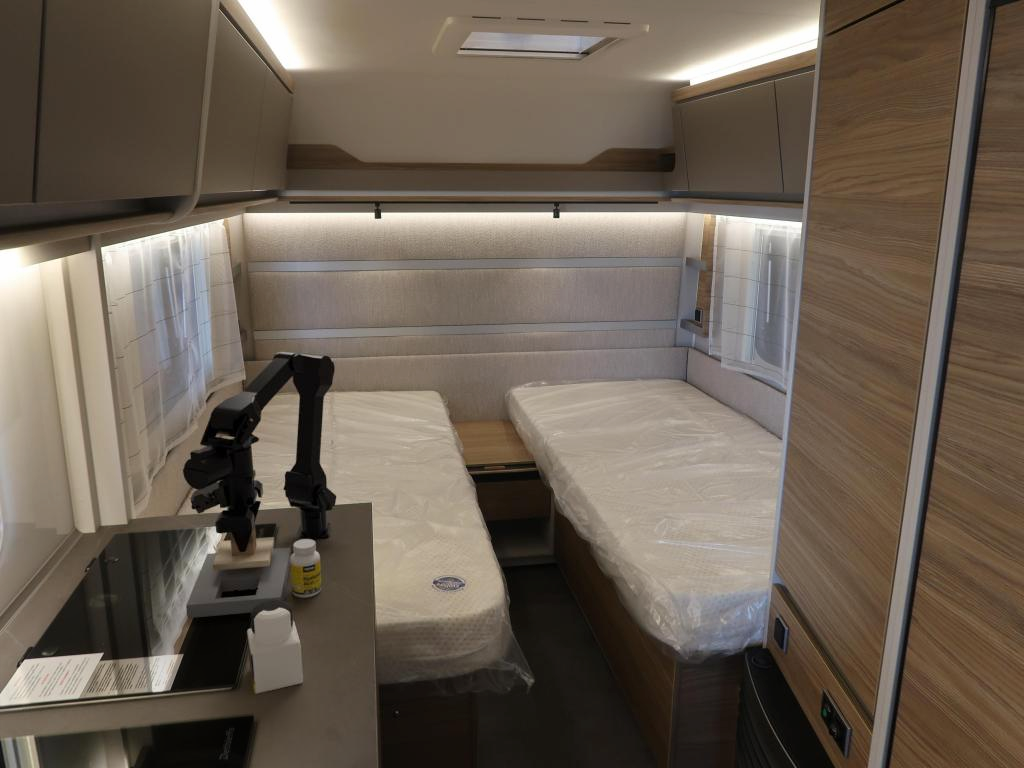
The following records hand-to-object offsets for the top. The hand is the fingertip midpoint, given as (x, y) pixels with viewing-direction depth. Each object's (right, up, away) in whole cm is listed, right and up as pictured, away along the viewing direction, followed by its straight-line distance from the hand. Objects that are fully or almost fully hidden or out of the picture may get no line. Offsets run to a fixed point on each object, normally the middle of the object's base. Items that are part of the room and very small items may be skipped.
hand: (244, 546), depth 150 cm
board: (+1, -7, -2) cm, 7 cm away
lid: (0, -2, 0) cm, 2 cm away
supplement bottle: (+13, -8, -4) cm, 16 cm away
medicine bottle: (+15, -14, -29) cm, 36 cm away
